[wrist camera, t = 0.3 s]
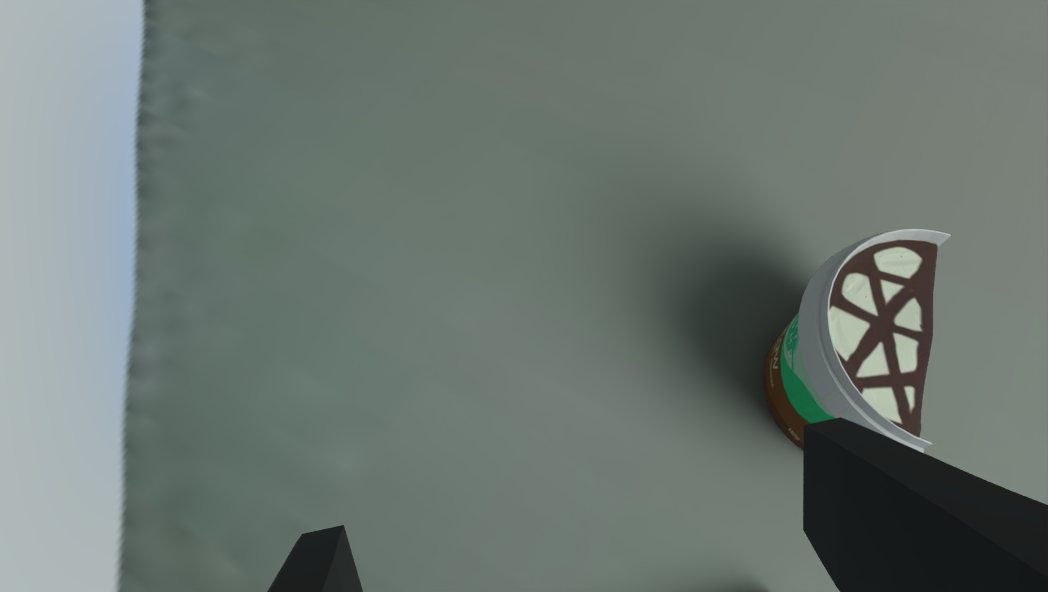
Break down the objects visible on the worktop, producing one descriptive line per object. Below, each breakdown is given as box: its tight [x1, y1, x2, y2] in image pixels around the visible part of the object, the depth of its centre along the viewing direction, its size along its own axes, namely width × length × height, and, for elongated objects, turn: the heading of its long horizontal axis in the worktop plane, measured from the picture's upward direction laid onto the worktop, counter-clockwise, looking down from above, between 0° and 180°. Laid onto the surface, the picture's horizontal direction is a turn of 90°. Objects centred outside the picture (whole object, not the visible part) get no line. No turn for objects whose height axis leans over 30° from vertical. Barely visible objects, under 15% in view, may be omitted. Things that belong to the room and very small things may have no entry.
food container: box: [763, 229, 951, 453], centre depth 40 cm, size 12×6×10 cm, turn 162°
